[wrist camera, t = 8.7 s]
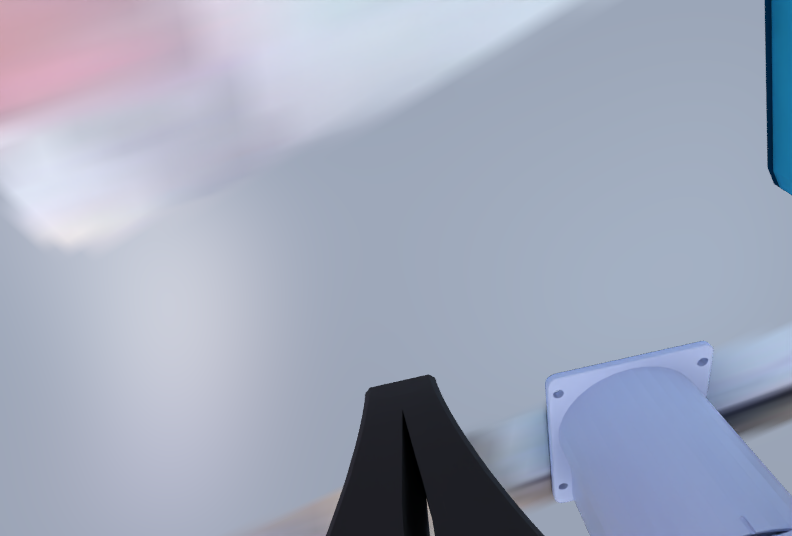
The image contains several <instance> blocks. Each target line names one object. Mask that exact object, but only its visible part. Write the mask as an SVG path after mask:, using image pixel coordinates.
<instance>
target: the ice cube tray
mask: <svg viewBox="0 0 792 536" xmlns="http://www.w3.org/2000/svg"><path fill="white" fill-rule="evenodd" d="M765 54H766V109H767V110H766V113H767V167H768V170H769V173H770V175H771V177H772V180H773V183H774V184H775V185H777V186H778V187H780V188H781V189H783V190H784V191H786V192H788V193H789V194H791V195H792V0H765Z"/></svg>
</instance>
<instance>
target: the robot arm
mask: <svg viewBox="0 0 792 536" xmlns="http://www.w3.org/2000/svg"><path fill="white" fill-rule="evenodd" d="M713 352H714V350H713V347H712V346H711V345H710V344H709V343H708V342H706V341H700V342H695V343H691V344H686V345H682V346H677V347H673V348H668V349H664V350H659V351H655V352H650V353H646V354H641V355H637V356H633V357H628V358H624V359H619V360H615V361H610V362H606V363H601V364H597V365H592V366H588V367H583V368H579V369H574V370H570V371H566V372H561V373H557V374H553V375H551V376H549V377H548V378H547V380H546V382H545V389H546V404H547V418H548V433H549V447H550V462H551V476H552V491H553V496H554V498H555V501H557V502H559V503H565V502H569V501H575V503H576V505H577V508H578V510H579V512H580V514H581V517H582V519H583V521H584V523H585V525H586V528H587V530H588V532H589V534H590V536H792V496H791V495H790V494H789V493H788V491H787V490H786V489H785V488H784V487H783V486H782V485H781V483H780V482H779V481H778V480H777V479H776V477H775V476H774V475H773V474H772V473H771V472H770V471H769V469H768V468H767V467H766V466H765V465H764V464H763V463H762V461H761V460H760V459H759V458H758V457H757V456H756V455H755V453H754V452H753V451H752V450H751V449H750V448H749V447H748V445H747V444H746V443H745V442H744V441H743V440H742V438H741V437H740V436H739V435H738V434H737V433H736V432H735V430H734V429H733V428H732V427H731V426H730V425H729V424H728V422H727V421H726V420H725V419H724V418H723V417H722V416H721V414H720V413H719V412H718V411H717V410H716V409H715V408H714V406H713V405H712V404H711V403H710V402H709V401H708V400H707V392H708V385H709V378H710V372H711V365H712V358H713ZM557 390H559V391H558V392H555V391H557ZM426 498H427V500H426ZM427 502H428V506H429V509H430V513H431V516H432V520H433V526H434V532H435V536H544V535H543V534H542V533H541V532H540V531H539V529H538V528H537V527H536V526H535V525H534V524H533V523H532V522H531V520H530V519H529V518H528V517H527V516H526V515H525V514H524V512H523V511H522V510H521V509H520V508H519V507H518V505H517V504H516V503H515V502H514V501H513V499H512V498H511V497H510V496H509V495H508V493H507V492H506V491H505V489H504V488H503V487H502V486H501V484H500V483H499V482H498V481H497V479H496V478H495V477H494V476H493V474H492V473H491V472H490V470H489V469H488V468H487V466H486V465H485V463H484V462H483V461H482V459H481V458H480V457H479V455H478V454H477V452H476V451H475V449H474V448H473V446H472V445H471V443H470V442H469V441H468V439H467V438H466V436H465V435H464V433H463V432H462V430H461V428H460V427H459V426H458V424H457V422H456V420H455V419H454V417H453V415H452V414H451V412H450V410H449V408H448V406H447V405H446V403H445V401H444V399H443V397H442V395H441V393H440V390H439V388H438V386H437V383H436V380H435V378H434V377H432V376H430V375H425V376H420V377H416V378H411V379H407V380H403V381H398V382H393V383H389V384H384V385H380V386H376V387H371V388H369V390H368V391H367V392H366V394H365V403H364V409H363V415H362V420H361V425H360V429H359V433H358V438H357V441H356V446H355V449H354V453H353V456H352V460H351V463H350V467H349V470H348V474H347V477H346V480H345V483H344V487H343V490H342V493H341V495H340V498H339V501H338V504H337V507H336V509H335V512H334V515H333V518H332V521H331V524H330V526H329V529H328V532H327V534H326V536H430V532H429V521H428V510H427Z"/></svg>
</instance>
